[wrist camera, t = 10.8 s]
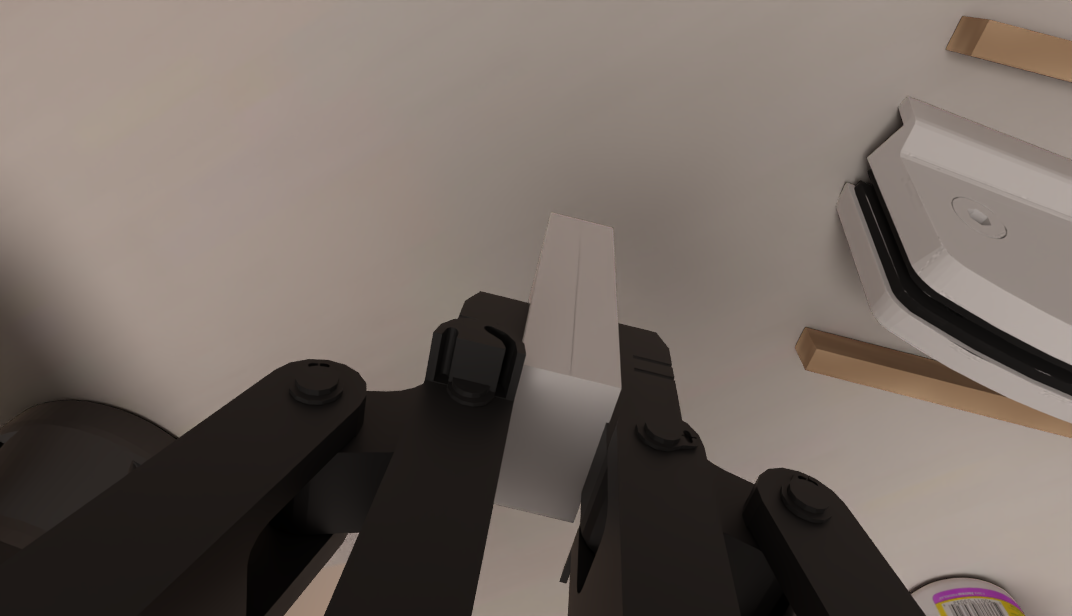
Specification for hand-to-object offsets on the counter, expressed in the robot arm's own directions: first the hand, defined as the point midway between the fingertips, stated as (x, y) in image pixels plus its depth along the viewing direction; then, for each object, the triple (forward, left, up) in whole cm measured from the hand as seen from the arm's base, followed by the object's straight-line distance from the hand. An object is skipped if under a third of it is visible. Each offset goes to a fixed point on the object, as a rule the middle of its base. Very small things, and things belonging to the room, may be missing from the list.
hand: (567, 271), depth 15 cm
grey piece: (0, -19, -14) cm, 24 cm away
